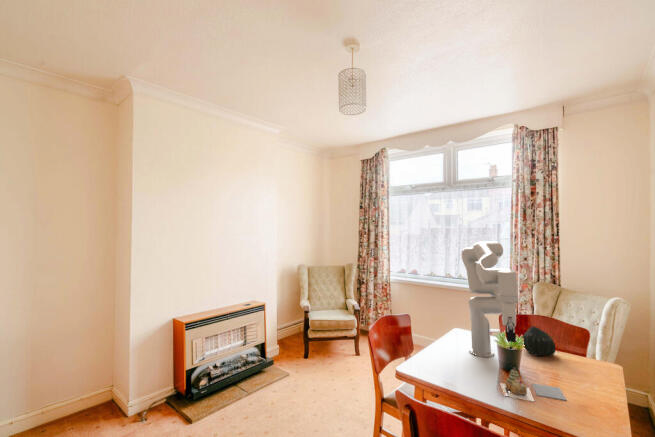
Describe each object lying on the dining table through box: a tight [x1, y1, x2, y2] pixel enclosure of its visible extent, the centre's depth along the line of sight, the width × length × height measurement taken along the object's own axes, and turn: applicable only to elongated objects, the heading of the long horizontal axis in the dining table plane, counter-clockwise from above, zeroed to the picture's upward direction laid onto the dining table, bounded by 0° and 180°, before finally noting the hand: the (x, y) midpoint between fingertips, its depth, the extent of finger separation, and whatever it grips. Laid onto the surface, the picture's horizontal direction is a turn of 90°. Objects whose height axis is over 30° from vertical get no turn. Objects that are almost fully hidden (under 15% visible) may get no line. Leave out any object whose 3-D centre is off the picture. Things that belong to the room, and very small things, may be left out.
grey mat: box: [531, 383, 568, 402], centre depth 128 cm, size 10×10×1 cm
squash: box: [522, 325, 556, 357], centre depth 167 cm, size 14×15×15 cm
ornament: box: [505, 366, 528, 395], centre depth 129 cm, size 8×6×10 cm
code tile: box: [500, 382, 535, 402], centre depth 129 cm, size 11×11×1 cm
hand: (510, 338), depth 131 cm, fingers open, 9 cm apart
